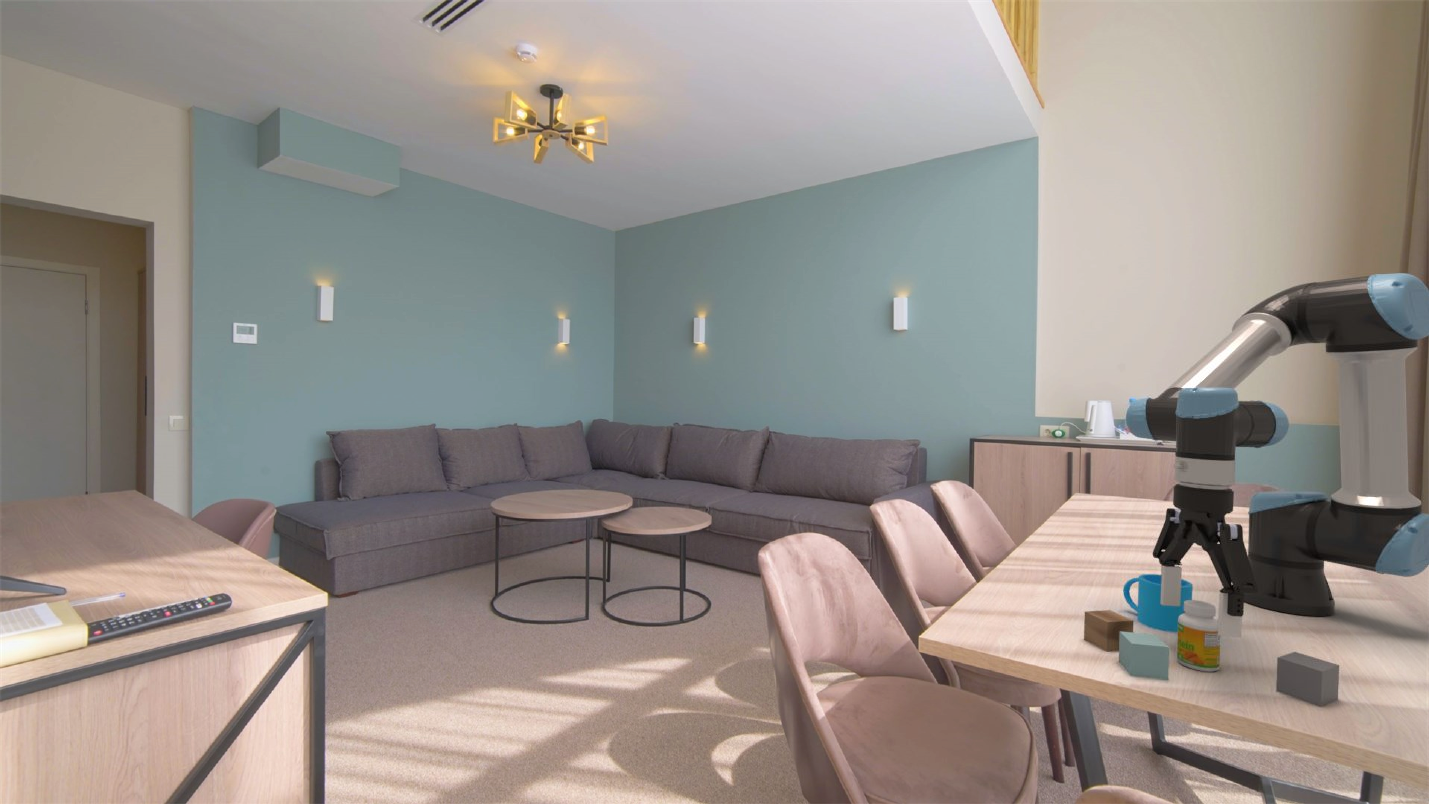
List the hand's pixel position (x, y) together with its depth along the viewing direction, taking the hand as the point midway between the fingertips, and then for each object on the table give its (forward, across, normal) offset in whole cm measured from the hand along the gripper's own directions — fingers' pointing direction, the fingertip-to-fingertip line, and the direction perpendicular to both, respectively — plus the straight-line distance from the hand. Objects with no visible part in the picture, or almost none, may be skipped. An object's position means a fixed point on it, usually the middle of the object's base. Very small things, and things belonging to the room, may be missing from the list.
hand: (1197, 619), depth 101 cm
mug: (+7, -20, +5) cm, 22 cm away
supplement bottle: (+7, 0, 0) cm, 7 cm away
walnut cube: (+7, -7, -10) cm, 14 cm away
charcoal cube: (+7, +9, +9) cm, 15 cm away
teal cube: (+8, +3, -10) cm, 12 cm away
